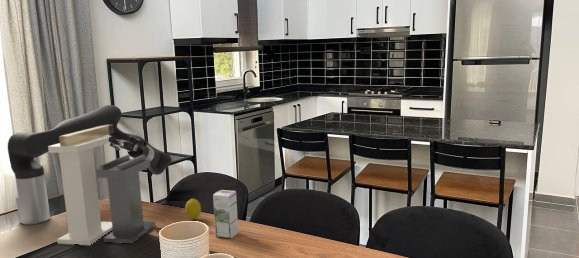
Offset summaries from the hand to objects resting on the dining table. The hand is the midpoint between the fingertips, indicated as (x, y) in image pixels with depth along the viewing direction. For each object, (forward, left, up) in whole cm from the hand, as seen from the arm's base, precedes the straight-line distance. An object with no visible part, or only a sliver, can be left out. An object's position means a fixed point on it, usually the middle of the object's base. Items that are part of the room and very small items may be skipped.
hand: (119, 138), depth 163 cm
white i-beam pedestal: (0, -22, -29) cm, 37 cm away
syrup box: (+47, -17, -29) cm, 58 cm away
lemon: (+30, -5, -29) cm, 42 cm away
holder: (+14, -20, -29) cm, 38 cm away
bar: (0, -17, +3) cm, 18 cm away
